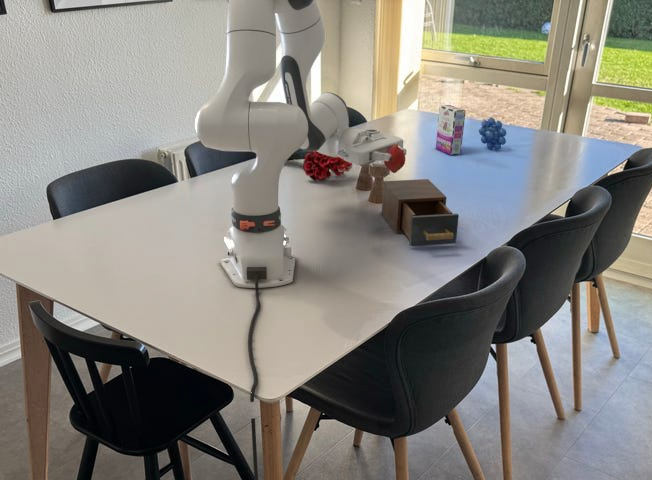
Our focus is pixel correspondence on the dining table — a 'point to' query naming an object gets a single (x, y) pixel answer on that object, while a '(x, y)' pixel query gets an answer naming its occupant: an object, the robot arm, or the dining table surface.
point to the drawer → (428, 223)
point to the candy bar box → (450, 129)
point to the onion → (395, 159)
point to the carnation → (320, 164)
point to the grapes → (492, 133)
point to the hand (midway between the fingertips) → (397, 155)
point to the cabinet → (406, 197)
